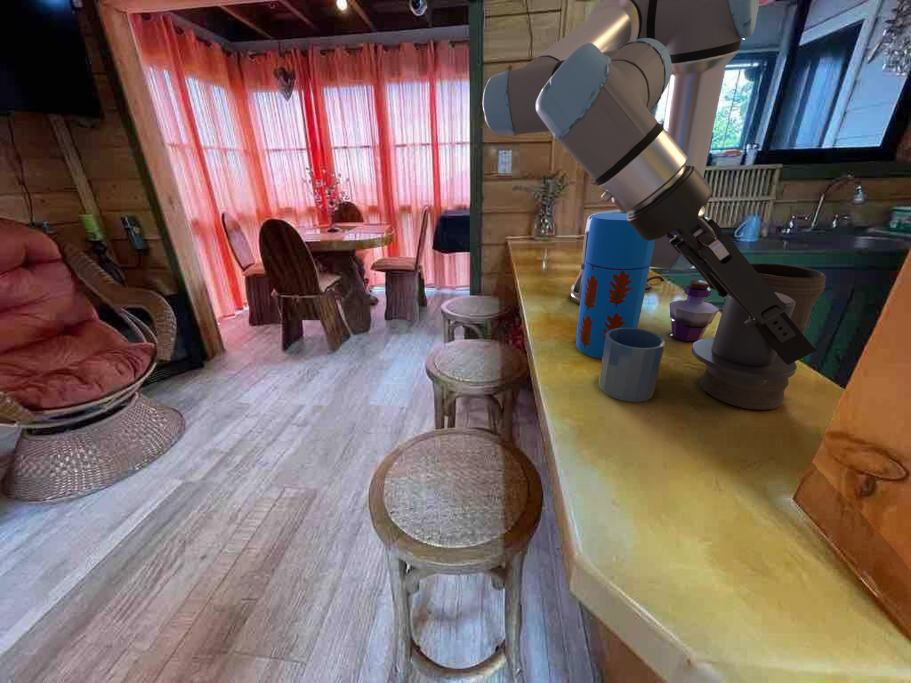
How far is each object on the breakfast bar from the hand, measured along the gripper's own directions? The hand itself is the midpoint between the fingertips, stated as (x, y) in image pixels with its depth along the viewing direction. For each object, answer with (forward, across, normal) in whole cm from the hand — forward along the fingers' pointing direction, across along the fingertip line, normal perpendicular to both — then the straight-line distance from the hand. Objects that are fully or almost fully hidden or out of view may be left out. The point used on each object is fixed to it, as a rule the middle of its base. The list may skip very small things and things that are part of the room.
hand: (782, 343), depth 42 cm
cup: (+1, -11, -19) cm, 22 cm away
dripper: (0, 0, -6) cm, 6 cm away
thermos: (0, -26, -20) cm, 33 cm away
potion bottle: (+12, -35, -8) cm, 38 cm away
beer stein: (+13, -16, -7) cm, 22 cm away
